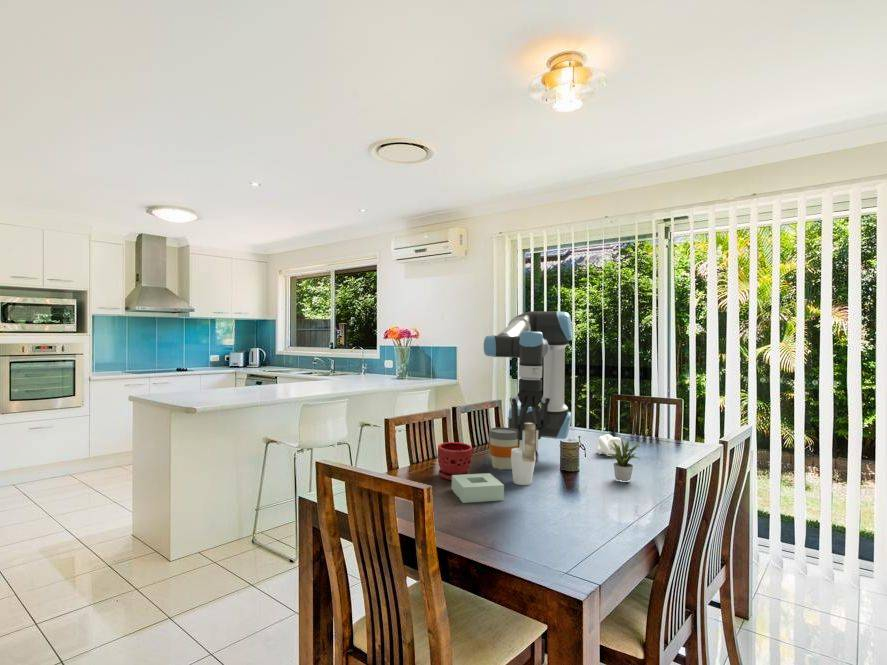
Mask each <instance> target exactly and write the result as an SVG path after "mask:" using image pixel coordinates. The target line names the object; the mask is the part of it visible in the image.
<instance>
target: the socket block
mask: <svg viewBox="0 0 887 665" xmlns="http://www.w3.org/2000/svg"><path fill="white" fill-rule="evenodd" d="M452 490H453V491H452ZM451 491H452V492H453V493H454V494H455V495H456V496H457V498H458V497H459V498H458V499H459V500H460V501H461V502H462V504H465V503H466V504H467V503H483V502H496V501H497V502H499V501H504V500H505V484H503V483H502V482H501V481H500V480H499V479H497V477H495V476H494V475H493V474H492V473H491V472H489V473H471V474H470V473H469V474H464V475H452V480H451Z"/></svg>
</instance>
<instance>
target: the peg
mask: <svg viewBox="0 0 887 665" xmlns="http://www.w3.org/2000/svg"><path fill="white" fill-rule="evenodd" d="M523 430H524V431H525V451H522V460H523V461H525V462H534V461H535V424H534V423H524V427H523Z"/></svg>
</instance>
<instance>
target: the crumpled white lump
mask: <svg viewBox="0 0 887 665" xmlns="http://www.w3.org/2000/svg"><path fill="white" fill-rule="evenodd" d="M621 439H622V438H620V437H616V436H615V437H614V436H613V435H611V434H609V433H606V434H604V435H601V436H599V437H598V441H597V443H596V448H595V450H596V453H597V454H598V453H601V454H604V455H606V456H607V457H608V456H612V455H607V454H615V455H616V452H615V450H616V449H615V447H614V444H613V442H612V441H614V443H615V444H616V445H617V446H619V447H620V450H621V451H622V444H621V443H622V442H621ZM611 440H612V441H611ZM608 443H609V444H610V445H609V444H608ZM611 445H612V446H613V448H614V449H615V450H614V449H613V448H612V447H611Z"/></svg>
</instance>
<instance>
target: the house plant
mask: <svg viewBox="0 0 887 665" xmlns="http://www.w3.org/2000/svg"><path fill="white" fill-rule="evenodd" d="M620 439H621V442H622V443H621V444H622V450H620V447H619V446H617V445H616V444H615V443H614V441H612V440H611V441H612V442H613V444H614V447H615V449H616V450H615V449H614V448H613V446H612V445H611V447H612V448H613V449H614V450H615V452H616V455H615V454H607V455H612V456H614V457H613V458H615V460H616V462H614V463H613V471H614V478H616V479H617V480H622V481H628V480H630V479H631V478H632V474H633V470H634V465H633V464H632V463H630V460H631V459H633V460H632V461H634V459H638V460H640V458H642V457H640V456H639V457H638V456H636V455H637V454H638V452H634V451H635V450H638V448H639V447H641V446H642V443H639V444H636V445H634V446H633V447H632V448H630V449H629V447H630V440H629V439H627V440H626V442H625V444H624V442H623V439H622V438H620ZM608 444H609V443H608ZM609 445H610V444H609ZM633 452H634V453H633ZM607 455H606V456H607ZM632 461H631V462H632ZM616 479H615V480H616ZM631 480H632V479H631ZM631 480H630V481H631Z"/></svg>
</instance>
